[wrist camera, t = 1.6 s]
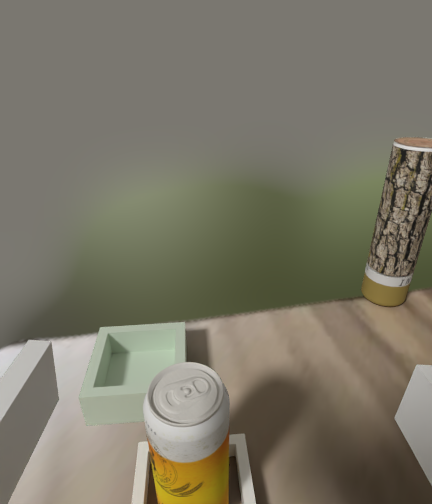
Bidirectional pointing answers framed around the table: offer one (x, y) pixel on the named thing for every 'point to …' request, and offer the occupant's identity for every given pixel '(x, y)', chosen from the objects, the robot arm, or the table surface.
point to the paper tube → (400, 222)
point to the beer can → (188, 434)
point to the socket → (128, 369)
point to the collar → (235, 449)
